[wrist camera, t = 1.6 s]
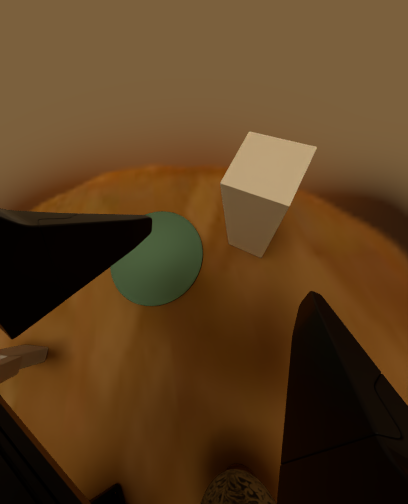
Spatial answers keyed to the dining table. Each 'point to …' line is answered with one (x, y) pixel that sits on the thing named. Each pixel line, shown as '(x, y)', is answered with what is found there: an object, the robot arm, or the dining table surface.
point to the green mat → (160, 262)
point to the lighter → (19, 359)
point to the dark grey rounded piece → (237, 488)
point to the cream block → (261, 189)
